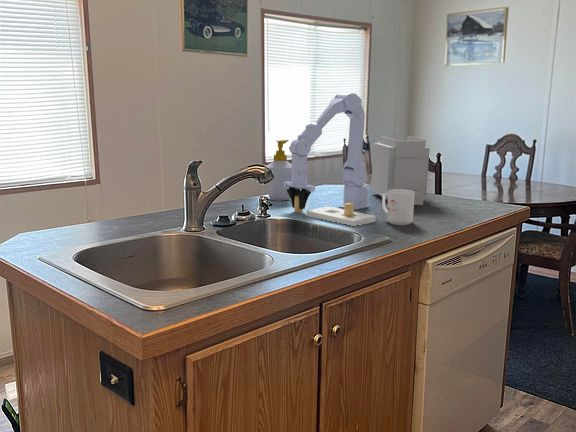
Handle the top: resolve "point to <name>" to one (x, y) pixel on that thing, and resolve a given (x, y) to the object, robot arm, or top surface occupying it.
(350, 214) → the peg
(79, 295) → the top surface
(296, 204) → the peg
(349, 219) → the housing
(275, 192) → the soap bottle
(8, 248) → the top surface
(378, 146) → the light grey angular block
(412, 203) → the mug
